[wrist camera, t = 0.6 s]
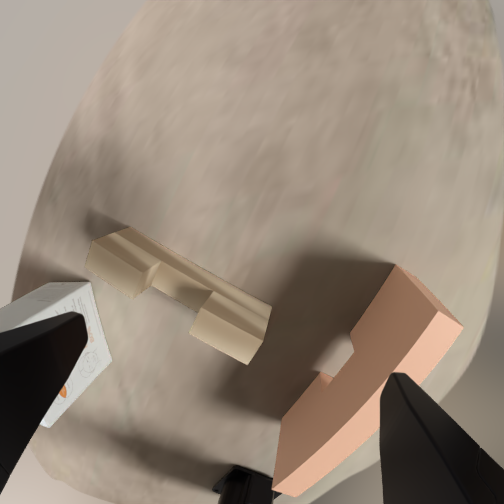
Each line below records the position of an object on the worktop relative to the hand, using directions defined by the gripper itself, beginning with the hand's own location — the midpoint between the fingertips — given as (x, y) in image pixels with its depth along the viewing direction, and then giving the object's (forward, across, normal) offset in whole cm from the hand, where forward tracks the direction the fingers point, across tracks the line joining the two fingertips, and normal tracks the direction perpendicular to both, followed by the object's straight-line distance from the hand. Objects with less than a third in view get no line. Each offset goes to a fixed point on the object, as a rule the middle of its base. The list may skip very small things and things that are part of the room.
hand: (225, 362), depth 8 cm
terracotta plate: (+13, -7, +9) cm, 17 cm away
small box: (+13, +16, +11) cm, 24 cm away
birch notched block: (+14, +5, +5) cm, 15 cm away
